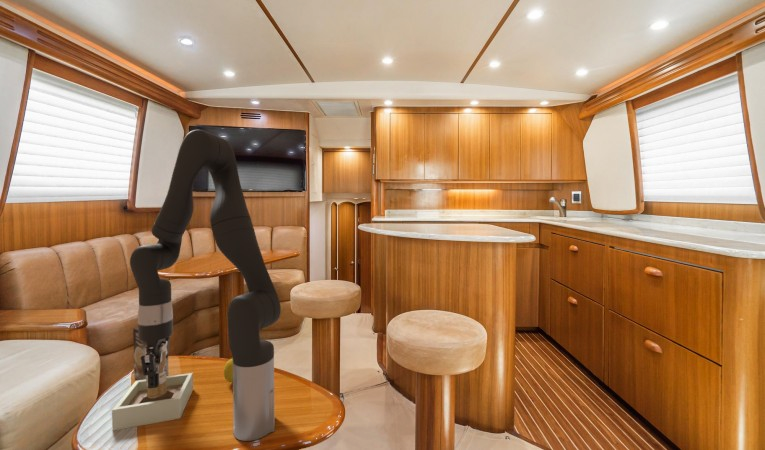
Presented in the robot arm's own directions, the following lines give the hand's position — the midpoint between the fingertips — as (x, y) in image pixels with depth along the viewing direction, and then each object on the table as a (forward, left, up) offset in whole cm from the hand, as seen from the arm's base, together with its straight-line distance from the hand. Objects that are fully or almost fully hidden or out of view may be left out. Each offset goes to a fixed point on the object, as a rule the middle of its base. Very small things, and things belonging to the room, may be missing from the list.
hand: (156, 382), depth 84 cm
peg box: (0, 0, -7) cm, 7 cm away
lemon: (-18, -7, -7) cm, 21 cm away
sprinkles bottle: (0, 0, -3) cm, 3 cm away
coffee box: (+7, -19, -7) cm, 21 cm away
